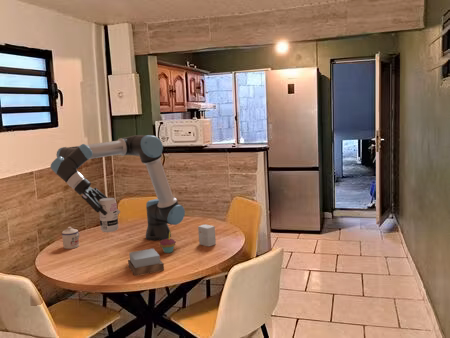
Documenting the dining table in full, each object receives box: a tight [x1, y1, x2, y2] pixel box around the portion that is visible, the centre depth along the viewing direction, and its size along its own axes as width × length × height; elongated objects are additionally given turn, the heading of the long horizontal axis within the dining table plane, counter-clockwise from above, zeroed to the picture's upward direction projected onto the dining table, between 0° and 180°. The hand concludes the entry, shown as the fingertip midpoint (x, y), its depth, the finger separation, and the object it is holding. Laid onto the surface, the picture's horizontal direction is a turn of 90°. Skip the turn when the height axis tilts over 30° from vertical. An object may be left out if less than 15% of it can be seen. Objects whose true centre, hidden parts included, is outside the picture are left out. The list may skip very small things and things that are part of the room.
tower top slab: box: [129, 247, 161, 268], centre depth 214 cm, size 12×12×4 cm
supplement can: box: [98, 197, 119, 233], centre depth 208 cm, size 8×8×15 cm
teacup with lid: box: [61, 226, 80, 250], centre depth 255 cm, size 12×9×12 cm
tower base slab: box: [127, 259, 165, 277], centre depth 215 cm, size 14×14×4 cm
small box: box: [197, 224, 217, 247], centre depth 247 cm, size 8×6×10 cm
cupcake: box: [159, 231, 176, 254], centre depth 237 cm, size 9×8×12 cm
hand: (115, 216), depth 207 cm, fingers closed on supplement can, 8 cm apart
